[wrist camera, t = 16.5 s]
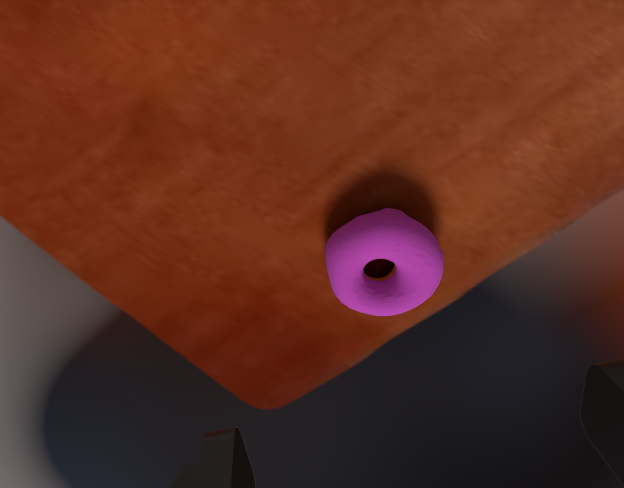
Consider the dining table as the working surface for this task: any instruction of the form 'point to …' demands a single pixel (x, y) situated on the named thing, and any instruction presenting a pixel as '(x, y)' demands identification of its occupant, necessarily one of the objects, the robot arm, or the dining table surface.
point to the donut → (384, 245)
